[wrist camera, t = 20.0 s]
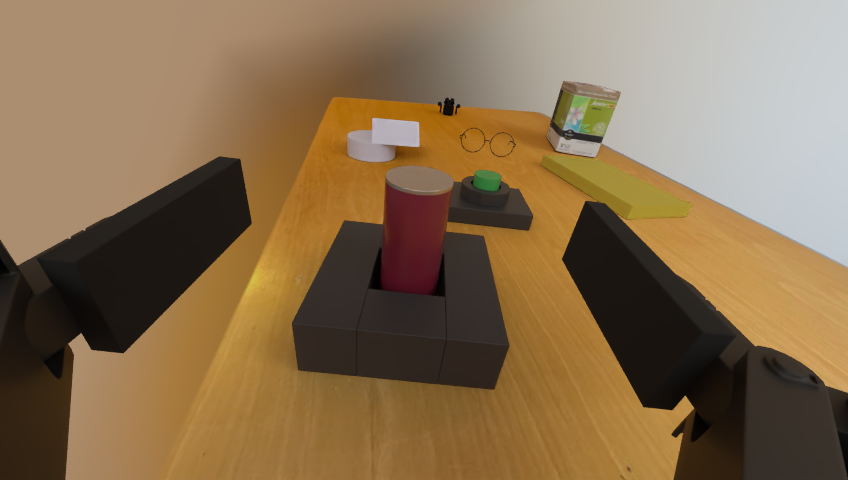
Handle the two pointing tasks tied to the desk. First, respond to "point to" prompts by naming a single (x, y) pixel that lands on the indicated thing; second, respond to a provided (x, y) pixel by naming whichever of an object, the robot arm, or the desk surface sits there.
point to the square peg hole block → (402, 316)
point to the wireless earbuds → (448, 106)
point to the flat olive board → (617, 188)
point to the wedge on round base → (382, 139)
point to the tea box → (581, 118)
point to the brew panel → (489, 206)
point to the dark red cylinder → (414, 228)
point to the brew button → (487, 180)
